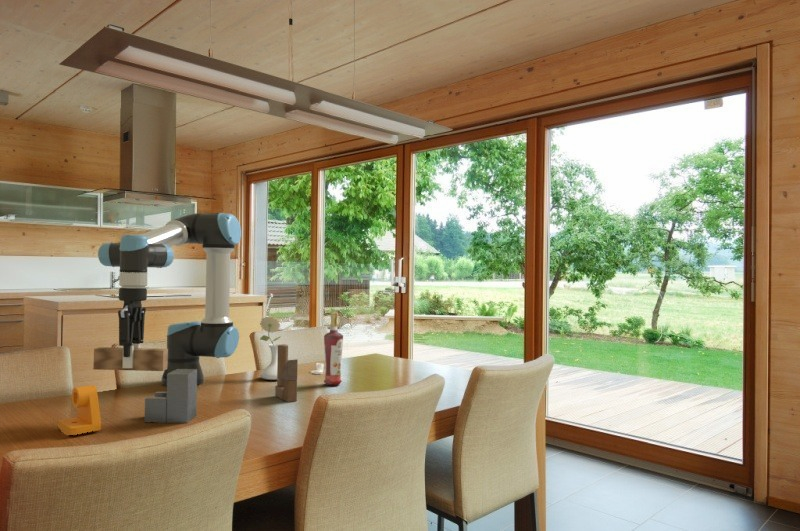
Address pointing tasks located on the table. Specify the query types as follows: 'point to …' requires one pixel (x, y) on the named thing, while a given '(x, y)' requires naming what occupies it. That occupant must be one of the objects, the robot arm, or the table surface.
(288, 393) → the wooden block
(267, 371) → the flower in vase
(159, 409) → the grey stepped block
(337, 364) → the liquor
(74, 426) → the bracket
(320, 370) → the teacup and saucer
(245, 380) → the table surface
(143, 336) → the robot arm
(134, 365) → the brown wooden bar
